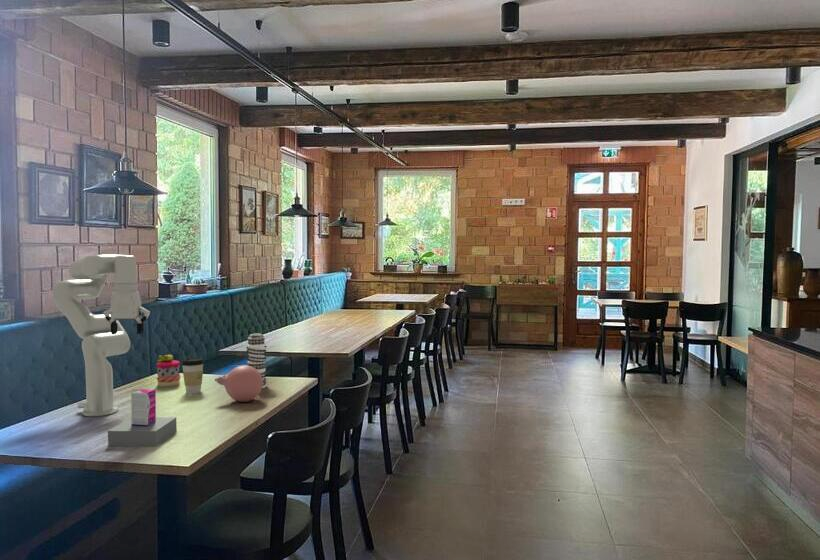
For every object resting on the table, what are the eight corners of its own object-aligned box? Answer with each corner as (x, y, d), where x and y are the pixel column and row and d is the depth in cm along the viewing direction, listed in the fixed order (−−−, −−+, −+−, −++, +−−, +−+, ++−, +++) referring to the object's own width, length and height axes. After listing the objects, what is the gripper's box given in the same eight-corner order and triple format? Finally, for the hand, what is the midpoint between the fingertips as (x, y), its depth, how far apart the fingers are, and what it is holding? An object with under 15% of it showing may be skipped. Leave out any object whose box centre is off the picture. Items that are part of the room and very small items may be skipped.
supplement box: (147, 426, 199) (146, 393, 198) (130, 426, 200) (129, 392, 199) (156, 421, 205) (155, 389, 204) (141, 421, 206) (140, 388, 205)
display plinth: (108, 445, 195) (107, 431, 194) (132, 431, 211) (131, 417, 210) (156, 446, 194) (155, 431, 194) (176, 431, 210) (176, 417, 210)
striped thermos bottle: (251, 384, 284) (250, 332, 283) (270, 384, 283) (269, 332, 282) (243, 388, 275) (242, 335, 274) (262, 389, 274) (261, 335, 272)
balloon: (221, 396, 260) (221, 362, 259) (267, 396, 259) (266, 362, 259) (209, 406, 244) (208, 369, 244) (257, 406, 244) (256, 369, 243)
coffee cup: (209, 391, 270) (208, 358, 269) (191, 395, 262) (190, 362, 261) (195, 388, 275) (194, 356, 275) (177, 393, 267) (176, 360, 266)
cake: (160, 382, 289) (160, 352, 288) (183, 382, 290) (182, 351, 289) (153, 387, 278) (153, 356, 278) (177, 386, 279) (176, 355, 279)
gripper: (97, 289, 217) (99, 335, 218) (144, 288, 216) (145, 335, 217) (108, 287, 224) (109, 332, 225) (153, 287, 224) (154, 332, 225)
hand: (127, 333), depth 221 cm, fingers open, 9 cm apart
